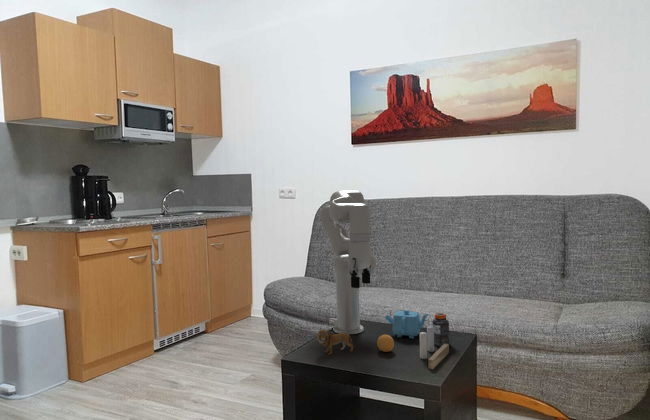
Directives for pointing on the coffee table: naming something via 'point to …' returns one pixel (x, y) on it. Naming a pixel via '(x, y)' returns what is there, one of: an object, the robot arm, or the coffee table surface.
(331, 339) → the lion figurine
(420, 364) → the coffee table surface
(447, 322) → the pill bottle
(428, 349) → the grey pin
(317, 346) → the coffee table surface
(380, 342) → the ball
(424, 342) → the white pin
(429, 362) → the tan wooden bar
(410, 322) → the teapot
